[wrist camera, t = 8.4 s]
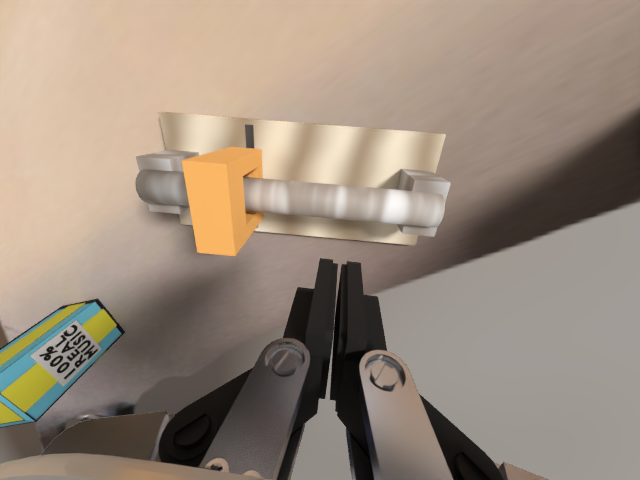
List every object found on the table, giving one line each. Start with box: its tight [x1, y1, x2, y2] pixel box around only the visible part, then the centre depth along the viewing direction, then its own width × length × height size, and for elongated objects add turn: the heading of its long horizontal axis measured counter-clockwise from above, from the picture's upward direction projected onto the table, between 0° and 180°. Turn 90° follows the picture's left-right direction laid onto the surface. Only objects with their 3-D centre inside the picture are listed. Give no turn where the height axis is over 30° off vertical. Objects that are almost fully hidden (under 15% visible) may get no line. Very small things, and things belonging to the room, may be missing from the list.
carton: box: [0, 299, 125, 428], centre depth 32 cm, size 7×8×18 cm
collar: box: [182, 147, 264, 256], centre depth 22 cm, size 3×7×8 cm, turn 176°
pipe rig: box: [136, 112, 451, 245], centre depth 24 cm, size 28×12×8 cm, turn 86°
